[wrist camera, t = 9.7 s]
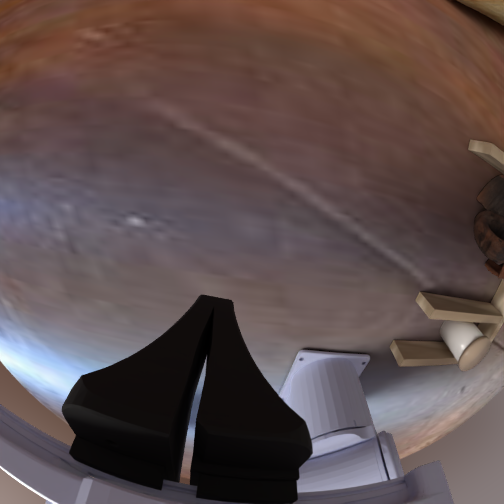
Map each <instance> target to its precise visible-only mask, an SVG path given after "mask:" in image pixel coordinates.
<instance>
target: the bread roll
mask: <svg viewBox="0 0 504 504" xmlns="http://www.w3.org/2000/svg"><path fill="white" fill-rule="evenodd" d="M457 1H459V2H461V3H462V4H464V5H466V6H468V7H470V8H472V9H474V10H477V11H478V12H480V13H482V14H484V15H486V16H488V17H489V18H491V19H493V20H494V21H496V22H498V23H500V24H501V25H503V26H504V0H457Z"/></svg>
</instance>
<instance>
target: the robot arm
mask: <svg viewBox="0 0 504 504" xmlns="http://www.w3.org/2000/svg"><path fill="white" fill-rule="evenodd" d="M206 356H207V363H206V376H205V381H204V385H203V390H202V395H201V400H200V404H199V409H198V414H197V418H196V427H195V438H194V449H193V457H192V463H191V469H190V472H191V474H190V485H188V484H183V483H179V481H180V474H181V467H182V461H183V454H184V448H185V442H186V436H187V430H188V425H189V419H190V414H191V408H192V403H193V399H194V395H195V392H196V389H197V385H198V382H199V379H200V376H201V372H202V369H203V366H204V363H205V359H206ZM302 357H303V358H302ZM369 361H370V356H369V355H367V354H349V353H335V352H323V351H312V350H300V351H299V352H298V354H297V356H296V358H295V361H294V363H293V365H292V367H291V370H290V372H289V374H288V376H287V379H286V381H285V383H284V385H283V387H282V389H281V391H280V394H279V395H278V394H277V393H276V392H275V390H274V389H273V388H272V387H271V385H270V384H269V383H268V381H267V380H266V379H265V378H264V376H263V375H262V373H261V372H260V370H259V369H258V367H257V365H256V364H255V362H254V360H253V358H252V357H251V355H250V353H249V351H248V349H247V347H246V344H245V342H244V340H243V337H242V335H241V332H240V329H239V326H238V323H237V320H236V316H235V312H234V305H233V302H232V300H229V299H223V298H218V297H213V296H207V295H200V296H199V297H198V299H197V300H196V301H195V303H194V304H193V305H192V306H191V308H190V309H189V310H188V311H187V312H186V313H185V314H184V315H183V316H182V317H181V318H180V319H179V320H178V321H177V322H176V323H175V324H174V325H173V326H172V327H171V328H170V329H168V330H167V331H166V332H165V333H164V334H163V335H161V336H160V337H159V338H158V339H156V340H155V341H153V342H152V343H151V344H149V345H148V346H146V347H145V348H143V349H141V350H140V351H138V352H137V353H135V354H133V355H131V356H130V357H128V358H126V359H124V360H121V361H119V362H117V363H115V364H113V365H111V366H108V367H106V368H103V369H100V370H97V371H94V372H91V373H88V374H85V375H82V376H81V377H80V379H79V380H78V381H77V382H76V384H75V385H74V386H73V388H72V389H71V391H70V393H69V395H68V397H67V399H66V400H65V402H64V404H63V406H62V413H63V415H64V417H65V419H66V421H67V422H68V424H69V425H70V427H71V429H72V430H73V431H74V433H75V434H76V437H75V439H74V441H73V444H72V446H69V445H67V444H65V443H63V442H61V441H59V440H57V439H55V438H53V437H51V436H50V435H48V434H46V433H44V432H42V431H41V430H39V429H37V428H36V427H34V426H32V425H31V424H29V423H27V422H26V421H24V420H22V419H21V418H19V417H18V416H16V415H15V414H14V413H12V412H11V411H9V410H8V409H6V408H5V407H4V406H2V405H1V404H0V468H1V469H2V470H4V471H5V472H6V473H8V474H9V475H10V476H11V477H13V478H14V479H16V480H17V481H19V482H20V483H21V484H23V485H24V486H26V487H27V488H29V489H30V490H32V491H33V492H35V493H36V494H38V495H40V496H41V497H43V498H45V499H46V503H45V504H454V503H453V499H452V496H451V493H450V489H449V486H448V483H447V480H446V477H445V474H444V471H443V468H442V465H441V462H440V461H439V460H437V461H434V462H432V463H428V464H425V465H422V466H420V467H417V468H415V469H414V470H411V471H410V472H408V473H407V474H406V475H405V476H404V472H403V469H402V466H401V462H400V459H399V455H398V452H397V449H396V446H395V442H394V439H393V436H392V434H390V433H386V432H385V431H382V432H380V433H378V434H377V432H376V430H375V427H374V424H373V421H372V417H371V414H370V411H369V408H368V404H367V401H366V398H365V395H364V392H363V389H362V386H361V383H360V380H359V376H360V375H361V373H362V371H363V370H364V368H365V367H366V365H367V364H368V362H369ZM378 435H379V436H378ZM91 476H92V477H94V478H92V477H91Z"/></svg>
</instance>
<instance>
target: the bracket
mask: <svg viewBox="0 0 504 504" xmlns="http://www.w3.org/2000/svg"><path fill="white" fill-rule="evenodd" d="M468 150H469V151H471V152H472V153H474V154H475V155H477V156H479V157H480V158H482V159H483V160H484V161H486V162H487V163H489V164H490V165H492V166H493V167H494V168H496V169H497V170H499V171H500V172H501V173H503V174H504V152H502V151H501V150H500V149H499V148H497V147H496V146H495V145H494V144H492V143H487V142H482V141H476V140H470V143H469V148H468ZM415 301H416V302H417V303H418V304H419V306H420V307H421V308H422V310H423V311H424V312H425V314H426V315H427V316H428V318H429V319H439V320H451V321H464V322H479V324H478V326H477V328H478V329H479V330H480V331H481V332H482V334H483V335H484V336H487V337H488V338H489V339H490V341H491V342H492V341H493V339H494V337H495V336H496V334H497V333H498V331H499V329H500V328H501V326H502V324H503V323H504V279H502V281H501V283H500V285H499V287H498V289H497V291H496V293H495V295H494V297H493V299H492V301H491V303H487V302H481V301H474V300H468V299H462V298H456V297H449V296H443V295H437V294H431V293H425V292H419V294H418V296H417V298H416V300H415ZM390 349H391V351H392V353H393V355H394V357H395V359H396V361H397V363H398V365H399V367H402V366H432V365H448V364H458V361H457V360H456V358H455V357H454V355H453V354H452V352H451V351H450V349H449V348H448V346H447V345H446V343H445V342H436V341H405V340H393V342H392V344H391V345H390Z"/></svg>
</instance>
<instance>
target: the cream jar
mask: <svg viewBox="0 0 504 504" xmlns="http://www.w3.org/2000/svg"><path fill="white" fill-rule="evenodd" d="M440 336H441V338H442V339H443V340H444V342H445V343H446V345H447V346H448V348H449V349H450V351H451V352H452V354H453V355H454V357H455V358H456V360H457V361H458V366H459V368H460V369H461V371H468V370H470V369H472V368H473V367H475V366H476V365H477V364H479V363H480V362H481V361H482V360H483V358H484V357H485V356H486V354H487V353H488V351H489V349H490V347H491V341H490V339H489V338H488V337H487V336H484V335H483V334H482V332H481V331H480V330H479V329H478V328H477V326H476V325H475V324H474V323H473V322H464V321H451V320H445V321H444V322H443V324H442V326H441V328H440Z"/></svg>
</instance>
